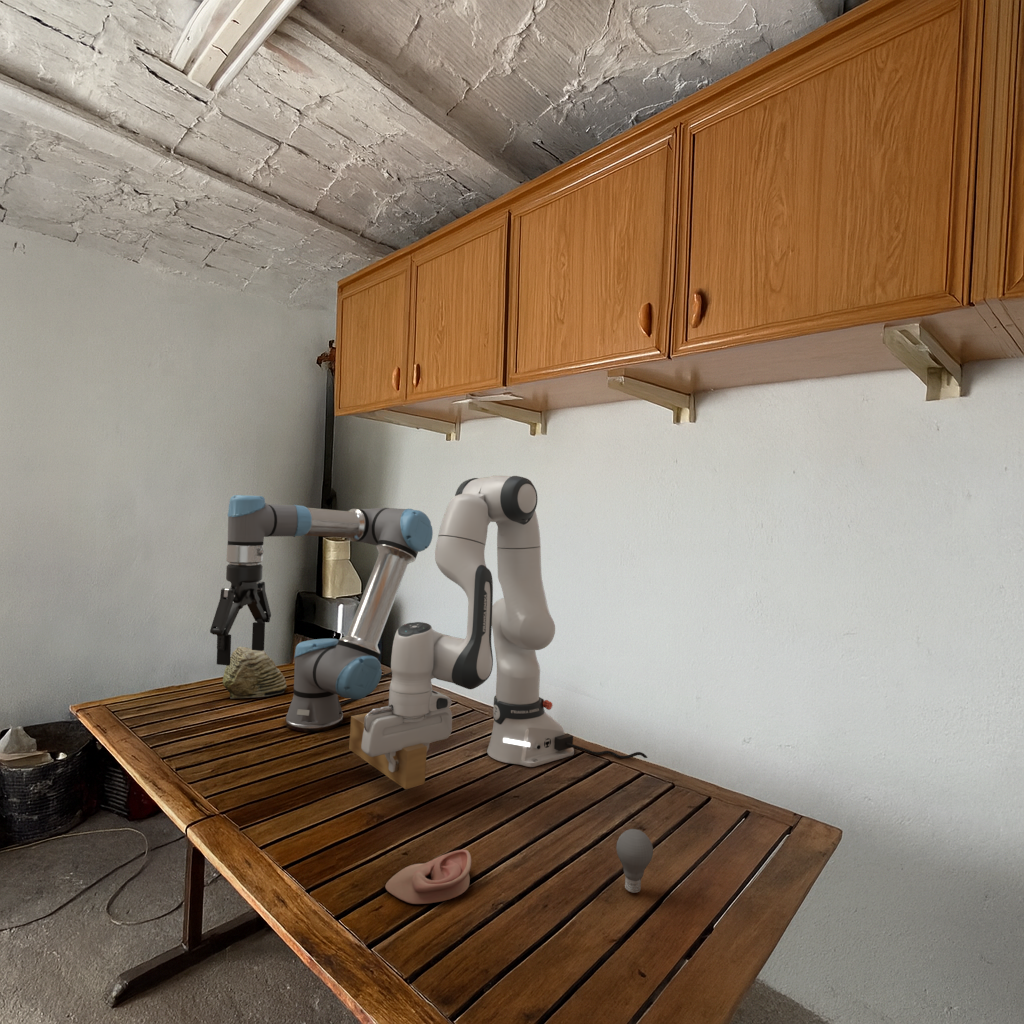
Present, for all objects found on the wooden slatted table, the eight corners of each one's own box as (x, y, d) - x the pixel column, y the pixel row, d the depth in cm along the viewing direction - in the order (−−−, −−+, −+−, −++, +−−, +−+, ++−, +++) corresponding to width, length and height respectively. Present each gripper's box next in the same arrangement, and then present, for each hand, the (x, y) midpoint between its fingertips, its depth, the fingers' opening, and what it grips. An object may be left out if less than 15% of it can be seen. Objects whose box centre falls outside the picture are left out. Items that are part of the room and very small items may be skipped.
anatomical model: (378, 873, 101) (404, 836, 112) (377, 898, 101) (403, 858, 112) (458, 887, 98) (477, 848, 109) (457, 912, 98) (476, 870, 109)
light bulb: (610, 879, 108) (613, 822, 108) (644, 879, 109) (647, 822, 109) (619, 902, 102) (622, 840, 102) (655, 901, 103) (658, 840, 103)
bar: (349, 749, 147) (351, 716, 146) (367, 745, 150) (369, 712, 150) (405, 789, 128) (407, 751, 128) (424, 783, 131) (427, 746, 131)
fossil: (218, 695, 195) (220, 647, 195) (278, 685, 208) (279, 640, 207) (228, 703, 189) (230, 653, 188) (289, 692, 201) (290, 645, 201)
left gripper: (227, 570, 130) (223, 672, 130) (288, 559, 155) (284, 646, 155) (193, 568, 131) (190, 669, 132) (259, 557, 156) (256, 643, 156)
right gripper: (373, 714, 123) (369, 785, 123) (457, 698, 137) (454, 761, 137) (357, 705, 128) (353, 773, 128) (440, 690, 141) (437, 751, 142)
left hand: (241, 657), depth 143 cm, fingers open, 13 cm apart
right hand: (406, 767), depth 133 cm, fingers closed on bar, 5 cm apart
